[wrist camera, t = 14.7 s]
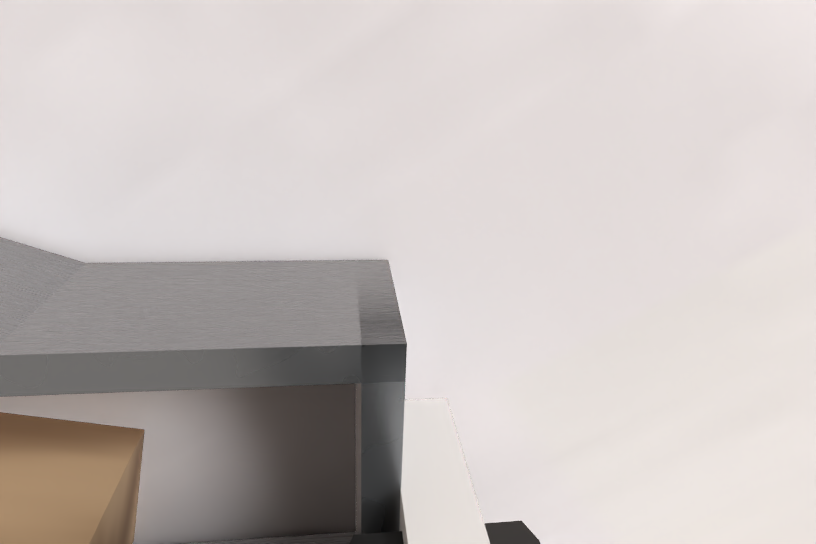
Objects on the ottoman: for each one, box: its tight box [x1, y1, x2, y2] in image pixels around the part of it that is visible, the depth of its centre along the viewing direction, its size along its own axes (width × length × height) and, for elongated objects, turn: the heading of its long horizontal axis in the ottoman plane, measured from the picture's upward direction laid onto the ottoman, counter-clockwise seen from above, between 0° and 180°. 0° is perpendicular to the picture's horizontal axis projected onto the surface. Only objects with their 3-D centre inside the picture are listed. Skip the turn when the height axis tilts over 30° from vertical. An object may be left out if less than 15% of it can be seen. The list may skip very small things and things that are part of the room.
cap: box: [0, 237, 407, 544], centre depth 13 cm, size 12×10×4 cm
